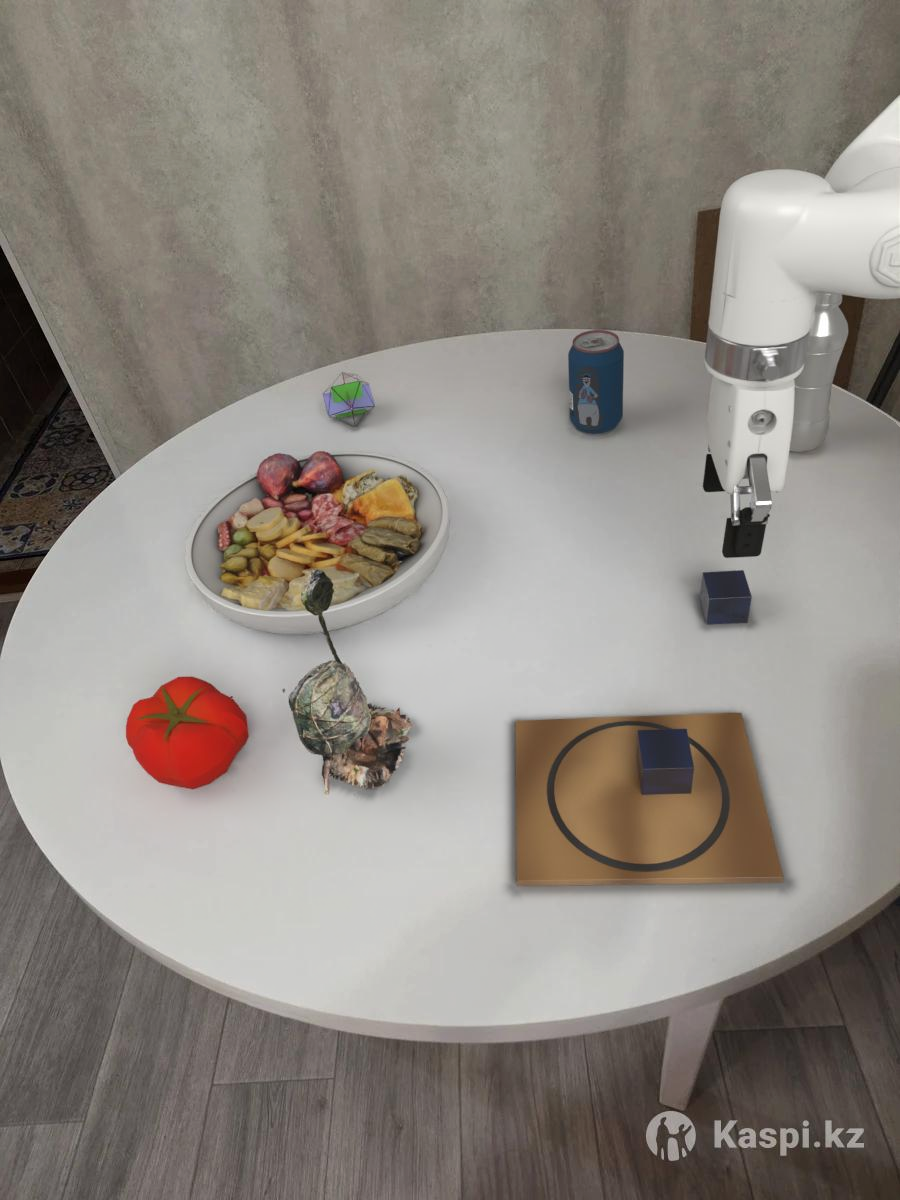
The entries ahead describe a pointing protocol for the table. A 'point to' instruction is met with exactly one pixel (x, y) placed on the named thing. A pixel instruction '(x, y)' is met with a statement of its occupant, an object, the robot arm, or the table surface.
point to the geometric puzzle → (349, 397)
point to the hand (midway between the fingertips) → (729, 521)
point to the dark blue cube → (664, 761)
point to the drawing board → (638, 806)
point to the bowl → (318, 539)
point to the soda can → (596, 382)
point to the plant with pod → (344, 712)
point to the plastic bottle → (818, 373)
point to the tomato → (186, 733)
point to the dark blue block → (725, 597)
